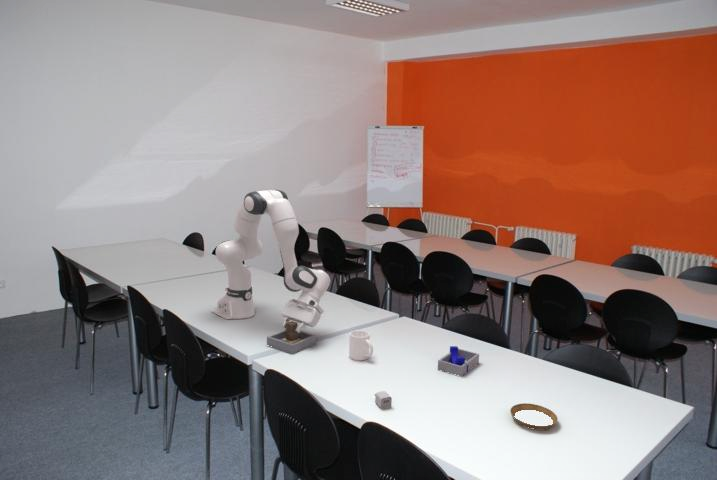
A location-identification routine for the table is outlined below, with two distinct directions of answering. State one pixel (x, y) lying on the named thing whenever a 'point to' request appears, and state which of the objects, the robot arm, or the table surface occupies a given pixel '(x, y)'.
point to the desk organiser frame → (456, 369)
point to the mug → (360, 345)
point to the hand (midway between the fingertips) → (290, 329)
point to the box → (287, 347)
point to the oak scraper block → (291, 333)
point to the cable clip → (456, 357)
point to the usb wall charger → (383, 399)
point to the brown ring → (533, 407)
